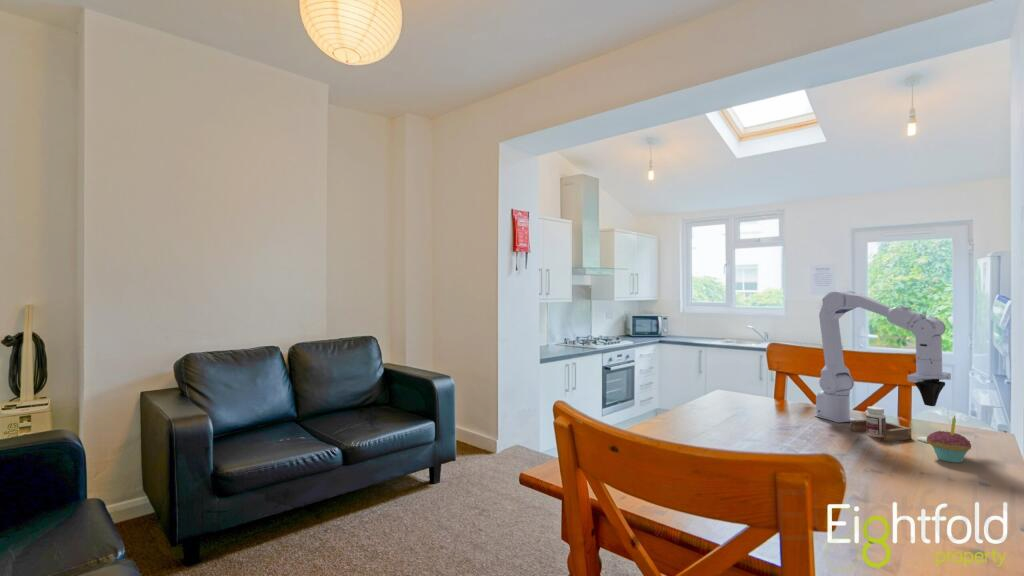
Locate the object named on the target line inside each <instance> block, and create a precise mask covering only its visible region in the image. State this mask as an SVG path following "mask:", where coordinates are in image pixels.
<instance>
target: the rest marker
mask: <svg viewBox="0 0 1024 576" xmlns="http://www.w3.org/2000/svg"><path fill="white" fill-rule="evenodd" d="M916 439H917V440H918V441H919V442H922V443H924V444H929V443H928V442H927V436H918V437H916Z"/></svg>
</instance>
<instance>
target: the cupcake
mask: <svg viewBox="0 0 1024 576" xmlns="http://www.w3.org/2000/svg"><path fill="white" fill-rule="evenodd" d="M956 421H957V418H956V415H954V417H952V420H951V426H950V431H947V430H946V431H943V430H942V431H941V430H939V431H935V432H931V433H929V434H928V435H927V436H926V437H927V442H928V443H927V444H929V445H931V447H932V448H933V450H934V452H935V455H936V457H937V458H938V460H940V461H944V462H948V463H954V464H955V463H957V464H959V463H962V462H963V460H964V458H965V456H966V454H967V453H968V452H969V450H970V451H971V450H972V444H971V442H970V440H968V439H967V438H966V437H965V436H963V435H961V434H959V433H956V432H955V428H956Z"/></svg>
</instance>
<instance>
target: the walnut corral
mask: <svg viewBox="0 0 1024 576" xmlns="http://www.w3.org/2000/svg"><path fill="white" fill-rule="evenodd" d="M864 431H866V418H865V419H858V420H857V421H850V432H856V433H857V432H864ZM911 439H912V428H911V427H907V426H903V425H900V424H894V423H892V422H887V421H886V430H884V437H883V441H885V442H889V443H890V442H895V441H904V440H911Z"/></svg>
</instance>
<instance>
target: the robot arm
mask: <svg viewBox="0 0 1024 576" xmlns="http://www.w3.org/2000/svg"><path fill="white" fill-rule="evenodd" d="M821 302H822V305H821V308H820V311H819V313H818V314H819V325H820V334H821V341H822V342H821V343H822V349H823V350H822V351H823V358H824V366H823V368H822V369H821V370H820V377H819V380H818V381H819V382H818V384H819V387H820V389H821V390H820V391H819V392H818V393H817V394H816V395H815V396H816V397H815V414H814V416H815V417H818V418H821V419H825V420H828V421H831V422H835V423H839V424H840V423H848V422H850V423H851V421H857V418H853V417H851V411H850V406H851V405H850V403H851V402H850V396H851V395H850V393H851V390H852V389H853V388H854V386H855V383H854V382H855V381H854V379H853V377H852V376H851V372H850V369H849V368H848V367H847V366H846V365H845V358H844V353H843V347H842V346H843V343H842V337H841V330H840V329H841V327H840V322H839V320H840V318H842V316H844V315H845V314H846V313H848V312H850V311H853V310H855V309H856V308H861V309H863V310H866V311H869V312H871V313H875V314H876V315H877V314H878V315H880V316H883V317H885V318H886V320H887V322H888V323H889V324H892V325H894V326H897V327H899V328H901V329H904V330H907V331H909V332H911V334H913V335H914V338H915V365H916V366H915V367H916V368H915V370H916V372H914V373H911V374H907V382H908V383H914V384H915V385H914V386H916V388H917V390H918V391H919V393H920V395H921V398H922V402H923V405H924V406H929V407H936V405H937V402H938V399H939V396H940V393H941V392H942V390H943V389H944V387H945V386H946V382H945V381H943V380H947V381H949V380H952V376H951V375H952V373H951V372H945V371H943V345H942V344H943V343H942V340H943V339H942V338H943V337H942V336H943V335H944V334H945V332H946V328H947V327H946V324H945V323H944V322H943V321H942V320H941V319H939V318H937V317H934V316H932V317H930V316H929V317H927V315H926V314H925V313H918V312H916V311H914V310H910V309H909V307H908V306H906V305H902V306H899V305H898V306H894V307H891V306H889V305H887V304H884V303H882V302H880V301H877V300H876V299H873V298H871V297H869V296H867V295H864V294H862V293H858V292H857V293H856V292H855V291H852V290H847V291H837V290H836V291H835V290H834V291H831V292H828V293H827V294H825V296H824V297H822V300H821Z"/></svg>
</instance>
